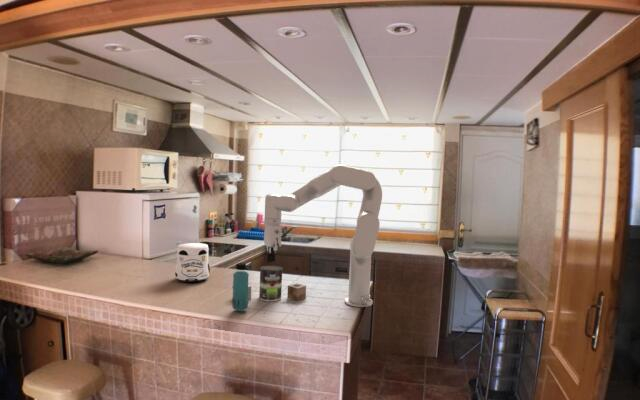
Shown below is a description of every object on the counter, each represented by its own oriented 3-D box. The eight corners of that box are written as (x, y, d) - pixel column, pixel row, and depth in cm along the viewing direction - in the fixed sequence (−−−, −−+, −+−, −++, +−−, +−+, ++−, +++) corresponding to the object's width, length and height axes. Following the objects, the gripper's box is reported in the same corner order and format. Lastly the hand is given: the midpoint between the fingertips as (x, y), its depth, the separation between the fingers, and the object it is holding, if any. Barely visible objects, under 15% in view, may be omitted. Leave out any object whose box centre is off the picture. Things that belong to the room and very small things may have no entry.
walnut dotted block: (305, 298, 179) (306, 285, 179) (296, 301, 175) (297, 287, 174) (296, 295, 183) (296, 282, 183) (287, 298, 178) (287, 285, 178)
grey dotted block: (250, 299, 174) (251, 286, 174) (237, 300, 173) (237, 286, 172) (249, 295, 180) (250, 282, 180) (236, 296, 179) (237, 282, 178)
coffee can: (283, 301, 174) (284, 270, 173) (260, 302, 171) (261, 270, 170) (279, 294, 184) (280, 264, 183) (257, 294, 181) (258, 265, 180)
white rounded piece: (187, 286, 190) (188, 250, 189) (168, 279, 200) (168, 245, 199) (216, 279, 204) (217, 246, 202) (196, 273, 214) (197, 241, 213)
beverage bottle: (249, 308, 163) (250, 261, 161) (246, 314, 156) (248, 265, 155) (233, 308, 162) (234, 261, 161) (230, 313, 156) (231, 265, 154)
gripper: (287, 223, 171) (285, 264, 172) (273, 219, 184) (272, 257, 185) (271, 224, 167) (269, 265, 168) (258, 219, 180) (257, 258, 181)
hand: (270, 261), depth 177 cm, fingers closed
